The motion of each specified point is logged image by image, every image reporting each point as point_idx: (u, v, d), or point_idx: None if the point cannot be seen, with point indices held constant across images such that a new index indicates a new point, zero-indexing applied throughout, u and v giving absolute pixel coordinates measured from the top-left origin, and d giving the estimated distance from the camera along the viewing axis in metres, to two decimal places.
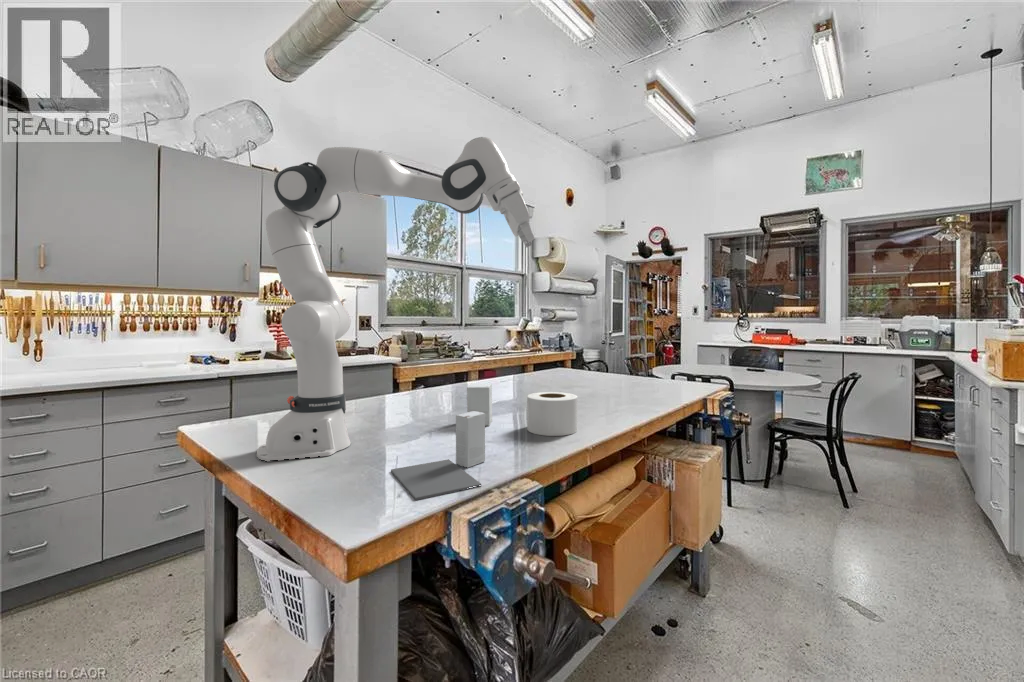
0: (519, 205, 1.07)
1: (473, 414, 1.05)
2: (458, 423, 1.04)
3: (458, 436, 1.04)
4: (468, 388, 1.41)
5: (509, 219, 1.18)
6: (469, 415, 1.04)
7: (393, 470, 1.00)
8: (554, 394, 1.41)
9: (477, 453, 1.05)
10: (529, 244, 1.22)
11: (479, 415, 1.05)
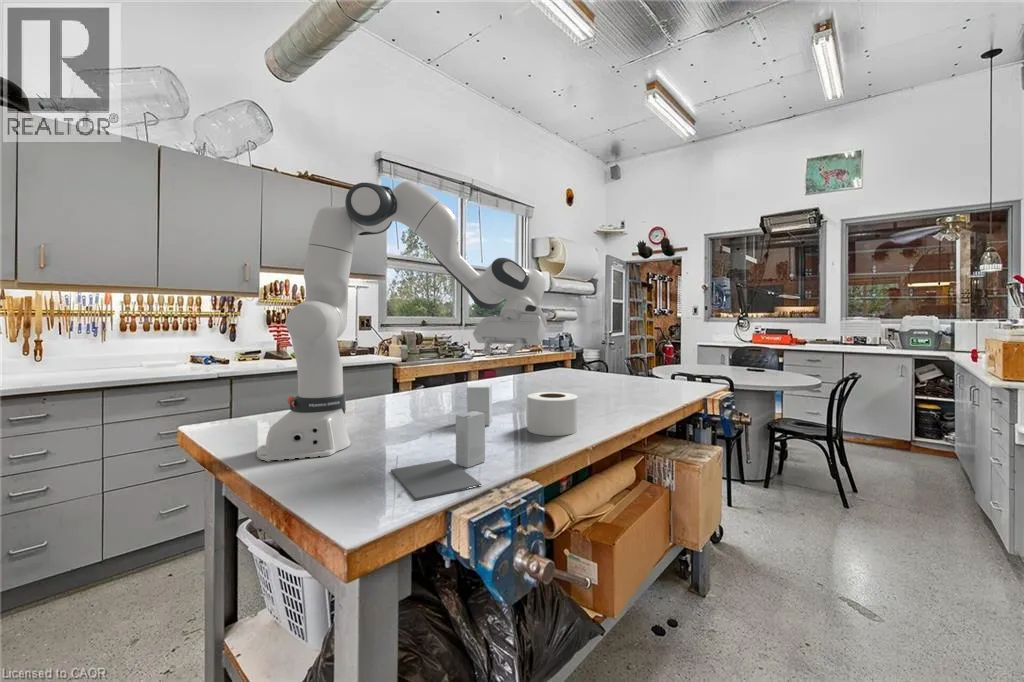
0: (542, 332, 1.16)
1: (473, 414, 1.05)
2: (458, 423, 1.04)
3: (458, 436, 1.04)
4: (468, 388, 1.41)
5: (502, 325, 1.20)
6: (469, 415, 1.04)
7: (393, 470, 1.00)
8: (554, 394, 1.41)
9: (477, 453, 1.05)
10: (488, 352, 1.17)
11: (479, 415, 1.05)
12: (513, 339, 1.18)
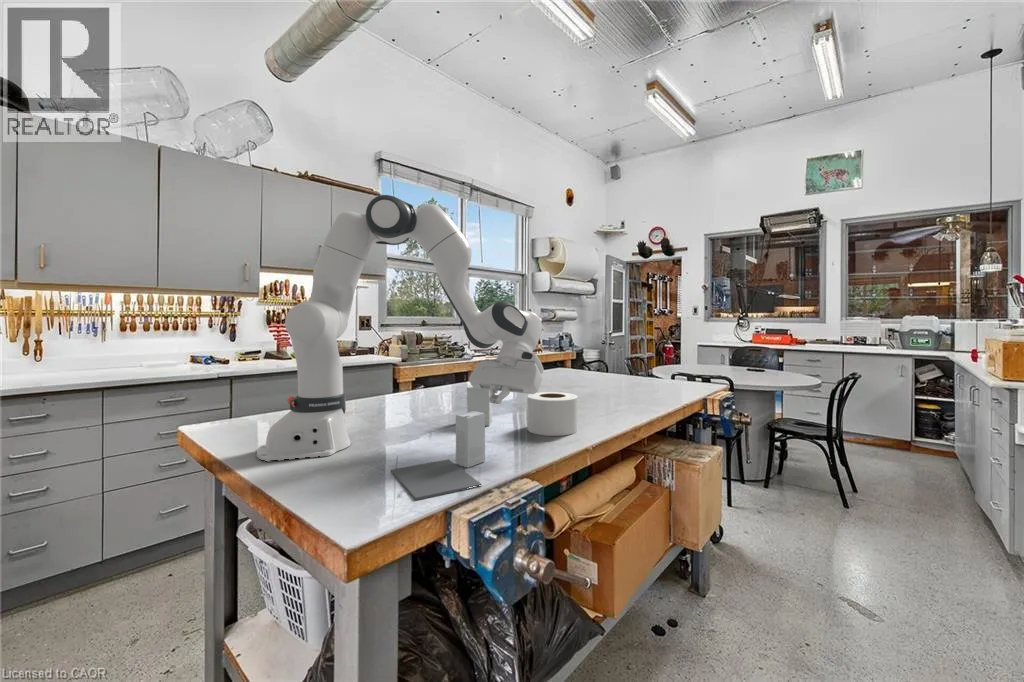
0: (539, 380, 1.15)
1: (473, 414, 1.05)
2: (458, 423, 1.04)
3: (458, 436, 1.04)
4: (468, 388, 1.41)
5: (499, 372, 1.19)
6: (469, 415, 1.04)
7: (393, 470, 1.00)
8: (554, 394, 1.41)
9: (477, 453, 1.05)
10: None
11: (479, 415, 1.05)
12: None
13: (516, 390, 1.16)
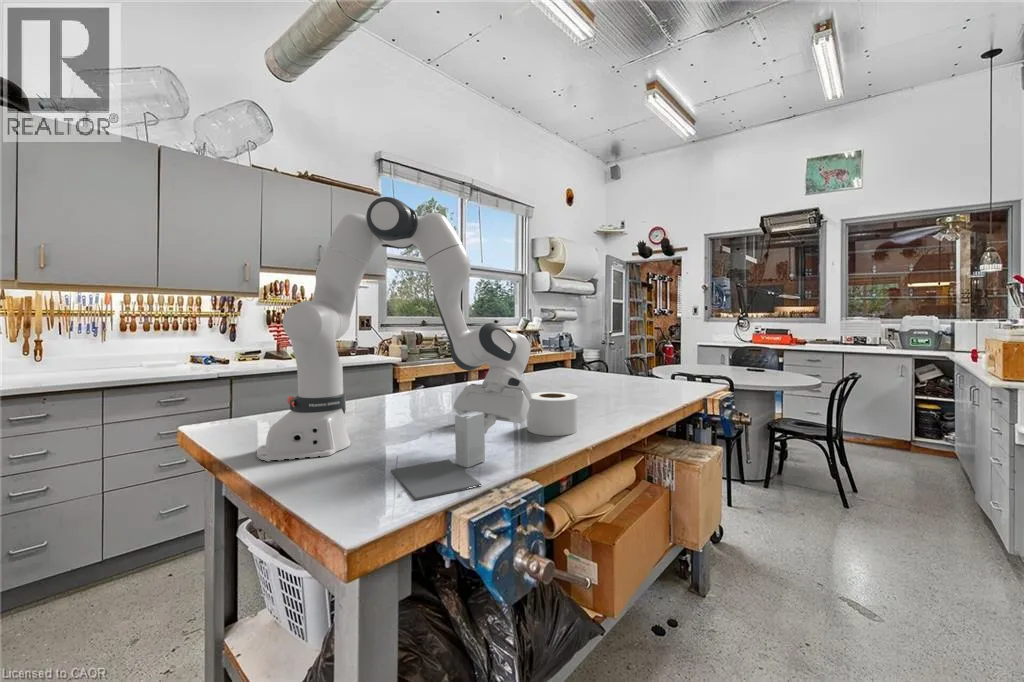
0: (526, 409, 1.09)
1: (472, 414, 1.05)
2: (457, 423, 1.04)
3: (458, 436, 1.04)
4: None
5: (484, 399, 1.13)
6: (468, 415, 1.04)
7: (393, 470, 1.00)
8: (554, 394, 1.41)
9: (477, 453, 1.05)
10: None
11: (478, 415, 1.05)
12: (495, 415, 1.11)
13: (502, 419, 1.10)
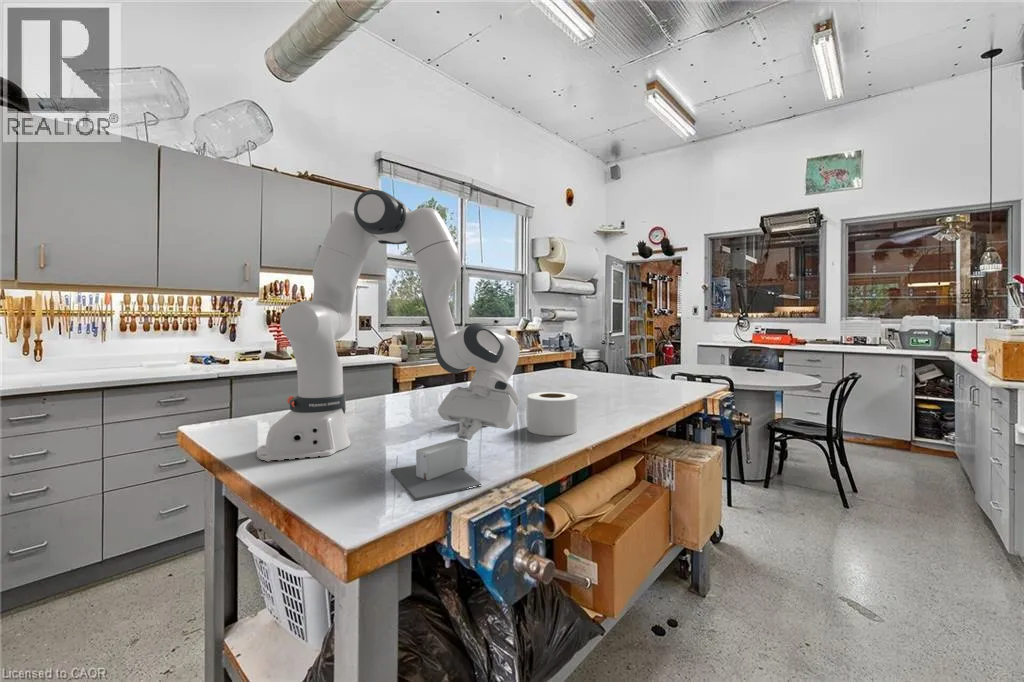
0: (513, 414, 1.04)
1: (424, 466, 0.94)
2: None
3: None
4: None
5: (470, 403, 1.08)
6: (424, 471, 0.94)
7: (393, 470, 1.00)
8: (554, 394, 1.41)
9: (459, 455, 1.01)
10: None
11: (428, 462, 0.94)
12: (481, 420, 1.06)
13: (489, 424, 1.05)
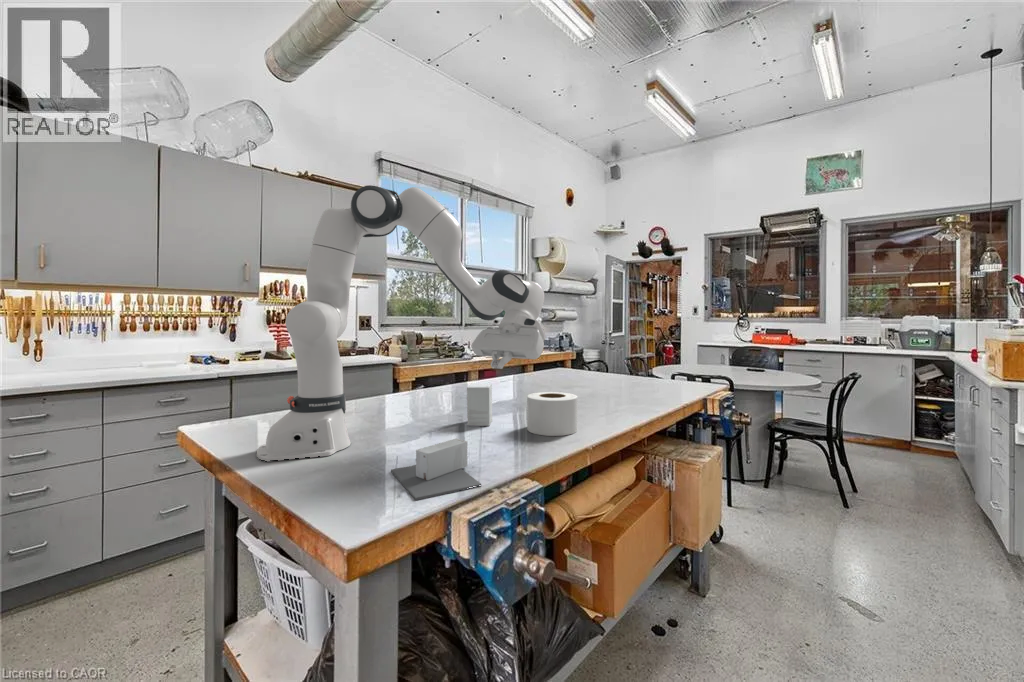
0: (541, 346, 1.16)
1: (424, 466, 0.94)
2: None
3: None
4: (468, 388, 1.41)
5: (501, 338, 1.20)
6: (423, 472, 0.94)
7: (393, 470, 1.00)
8: (554, 394, 1.41)
9: (459, 455, 1.01)
10: None
11: (428, 462, 0.94)
12: None
13: (518, 356, 1.17)
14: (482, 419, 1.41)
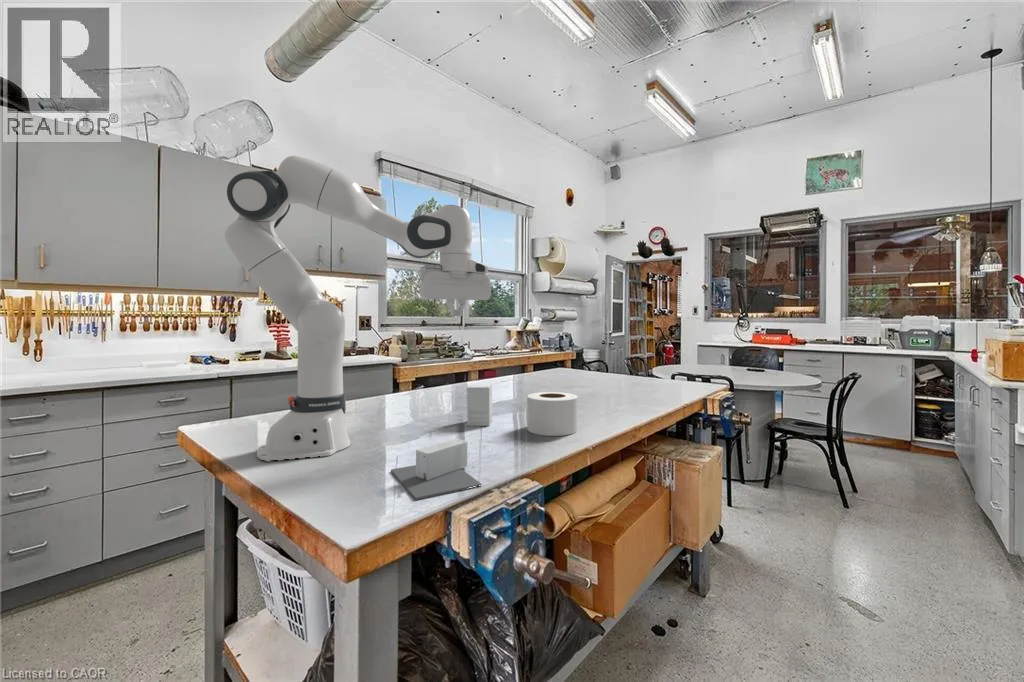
0: None
1: (424, 466, 0.94)
2: None
3: None
4: (468, 388, 1.41)
5: (454, 285, 1.21)
6: (423, 472, 0.94)
7: (393, 470, 1.00)
8: (554, 394, 1.41)
9: (459, 455, 1.01)
10: None
11: (428, 462, 0.94)
12: None
13: None
14: (482, 418, 1.41)
